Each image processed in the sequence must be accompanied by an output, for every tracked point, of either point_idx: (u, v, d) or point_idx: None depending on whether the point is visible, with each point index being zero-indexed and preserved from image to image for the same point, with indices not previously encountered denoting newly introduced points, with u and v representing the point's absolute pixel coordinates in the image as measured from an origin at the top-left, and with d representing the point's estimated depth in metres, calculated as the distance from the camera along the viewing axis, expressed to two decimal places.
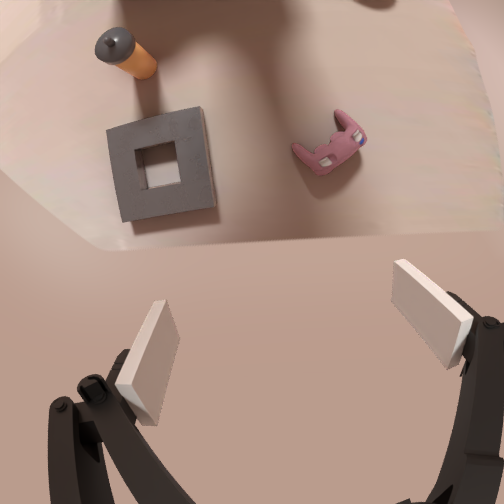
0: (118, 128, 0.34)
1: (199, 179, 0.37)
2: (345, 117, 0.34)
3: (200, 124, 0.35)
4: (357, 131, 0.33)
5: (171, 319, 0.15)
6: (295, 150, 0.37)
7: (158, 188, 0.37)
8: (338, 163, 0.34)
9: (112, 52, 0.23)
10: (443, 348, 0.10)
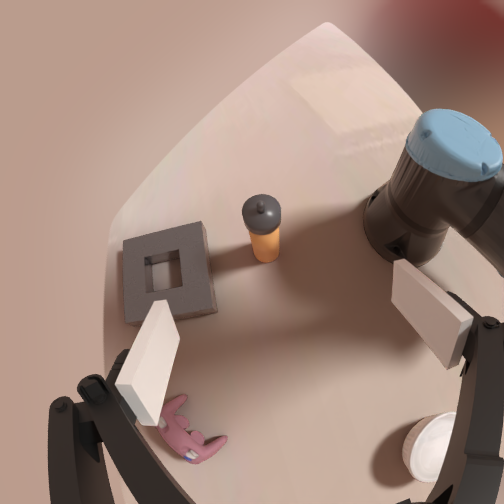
0: (200, 232, 0.44)
1: (147, 310, 0.39)
2: (214, 445, 0.31)
3: (195, 309, 0.39)
4: (195, 455, 0.29)
5: (171, 319, 0.15)
6: (177, 397, 0.35)
7: (143, 273, 0.42)
8: (161, 434, 0.30)
9: (250, 213, 0.34)
10: (443, 348, 0.10)
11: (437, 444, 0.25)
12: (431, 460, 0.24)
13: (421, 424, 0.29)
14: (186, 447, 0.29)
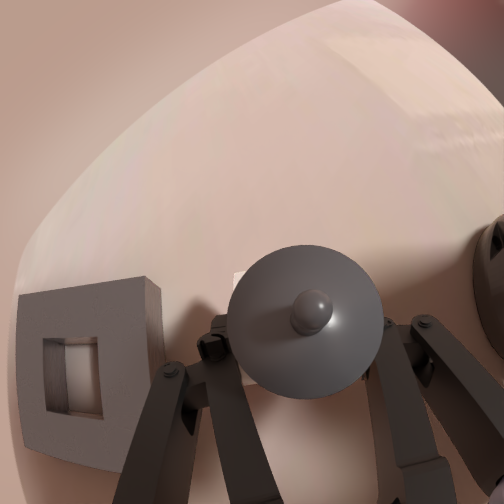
0: (140, 304, 0.18)
1: (51, 441, 0.14)
2: None
3: None
4: None
5: None
6: None
7: (41, 370, 0.16)
8: None
9: (262, 329, 0.08)
10: None
11: None
12: None
13: None
14: None
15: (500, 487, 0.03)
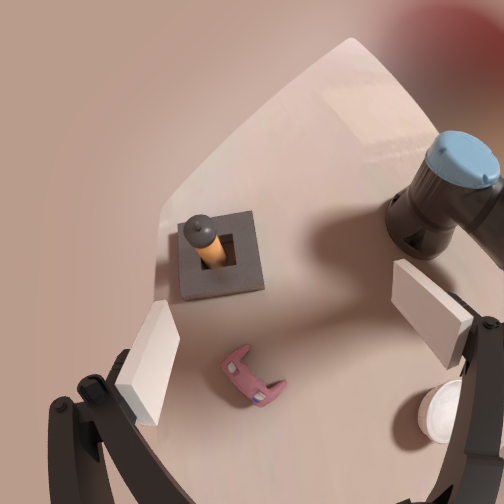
0: (251, 220, 0.51)
1: (202, 284, 0.47)
2: (278, 387, 0.39)
3: (248, 284, 0.46)
4: (263, 395, 0.37)
5: (171, 319, 0.15)
6: (242, 346, 0.43)
7: None
8: (231, 378, 0.38)
9: (189, 230, 0.41)
10: (443, 348, 0.10)
11: (448, 407, 0.32)
12: (443, 422, 0.31)
13: (433, 390, 0.35)
14: (255, 388, 0.37)
15: None
